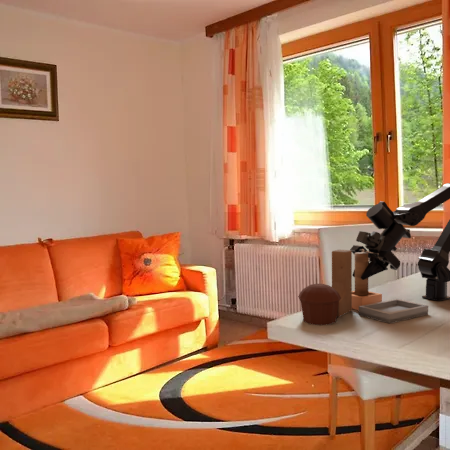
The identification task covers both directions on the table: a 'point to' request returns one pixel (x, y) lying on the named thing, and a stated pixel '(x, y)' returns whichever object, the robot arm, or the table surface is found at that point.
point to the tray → (393, 310)
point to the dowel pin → (360, 267)
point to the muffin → (319, 304)
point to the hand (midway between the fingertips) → (357, 277)
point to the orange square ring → (365, 299)
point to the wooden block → (342, 279)
